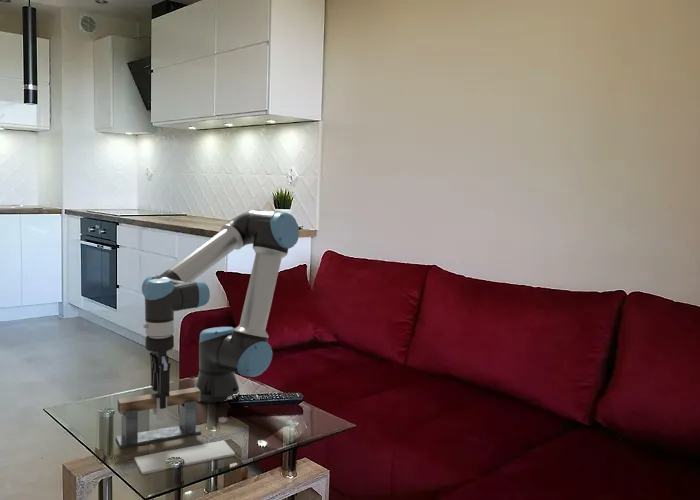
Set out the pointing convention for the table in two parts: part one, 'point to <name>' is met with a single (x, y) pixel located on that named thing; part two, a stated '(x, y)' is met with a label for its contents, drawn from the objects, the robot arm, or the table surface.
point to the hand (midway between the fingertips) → (160, 415)
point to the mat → (184, 456)
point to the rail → (151, 402)
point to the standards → (134, 438)
